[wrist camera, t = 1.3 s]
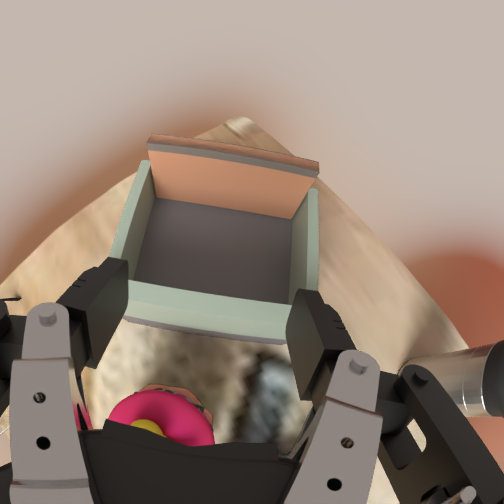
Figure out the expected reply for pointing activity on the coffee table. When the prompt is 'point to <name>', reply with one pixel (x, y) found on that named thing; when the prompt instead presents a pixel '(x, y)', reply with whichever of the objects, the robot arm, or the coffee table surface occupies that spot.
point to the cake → (167, 414)
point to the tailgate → (229, 175)
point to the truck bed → (214, 264)
